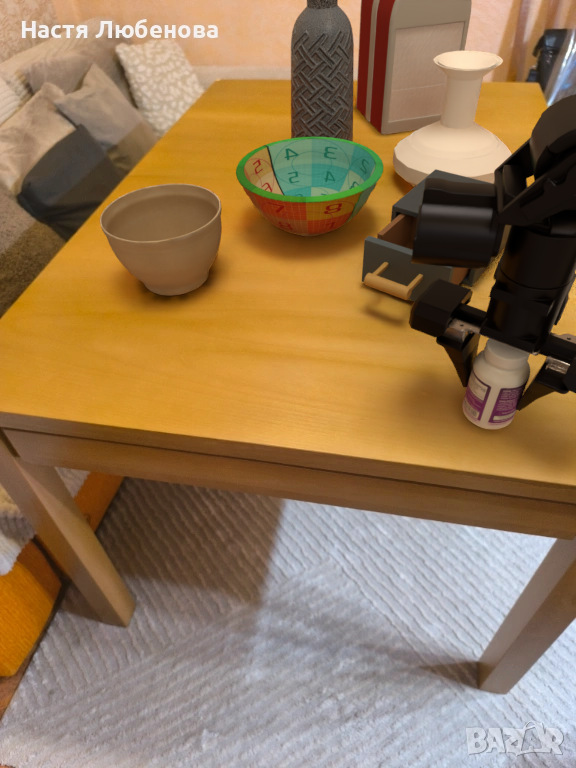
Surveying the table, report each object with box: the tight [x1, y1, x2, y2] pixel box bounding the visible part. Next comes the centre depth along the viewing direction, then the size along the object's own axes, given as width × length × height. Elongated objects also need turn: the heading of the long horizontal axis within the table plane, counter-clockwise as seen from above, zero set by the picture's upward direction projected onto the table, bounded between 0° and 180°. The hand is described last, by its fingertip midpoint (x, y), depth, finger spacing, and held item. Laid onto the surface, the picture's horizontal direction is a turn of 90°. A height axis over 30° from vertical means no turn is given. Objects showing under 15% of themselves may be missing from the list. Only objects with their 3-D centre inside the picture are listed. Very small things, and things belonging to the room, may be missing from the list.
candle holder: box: [392, 49, 513, 188], centre depth 89 cm, size 20×20×19 cm
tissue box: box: [355, 0, 473, 135], centre depth 109 cm, size 17×18×27 cm
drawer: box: [361, 213, 471, 302], centre depth 71 cm, size 17×12×7 cm
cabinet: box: [390, 169, 511, 288], centre depth 77 cm, size 13×13×8 cm
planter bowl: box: [99, 183, 223, 296], centre depth 75 cm, size 16×16×11 cm
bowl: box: [235, 137, 385, 237], centre depth 84 cm, size 22×22×10 cm
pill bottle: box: [461, 338, 531, 430], centre depth 53 cm, size 5×5×10 cm
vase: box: [290, 0, 355, 142], centre depth 96 cm, size 12×12×28 cm
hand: (492, 396), depth 55 cm, fingers closed on pill bottle, 5 cm apart
